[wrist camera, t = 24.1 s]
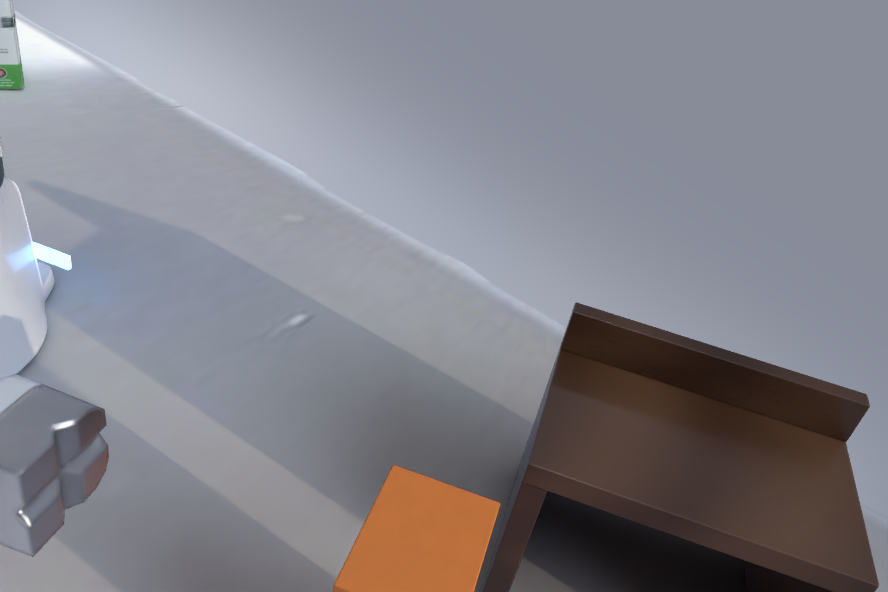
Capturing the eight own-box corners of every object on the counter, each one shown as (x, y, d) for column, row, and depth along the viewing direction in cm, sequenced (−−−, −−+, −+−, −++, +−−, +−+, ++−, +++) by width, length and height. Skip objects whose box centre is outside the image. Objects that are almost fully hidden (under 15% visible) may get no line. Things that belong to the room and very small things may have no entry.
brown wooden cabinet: (479, 600, 39) (542, 422, 32) (518, 466, 47) (575, 301, 40) (776, 712, 37) (911, 547, 30) (763, 552, 45) (867, 394, 38)
